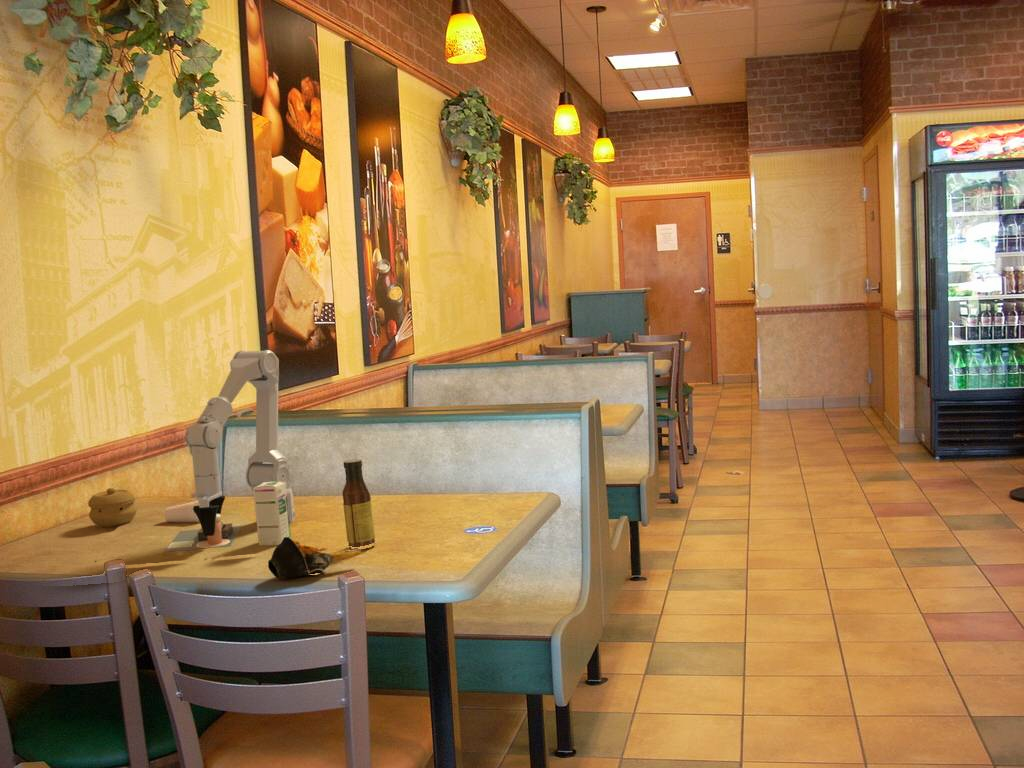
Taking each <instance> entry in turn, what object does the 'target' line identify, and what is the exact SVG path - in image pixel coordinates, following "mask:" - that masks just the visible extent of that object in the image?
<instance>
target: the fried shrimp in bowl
mask: <svg viewBox="0 0 1024 768" xmlns="http://www.w3.org/2000/svg"><path fill="white" fill-rule="evenodd" d="M326 550H328V548H326V547H323V548H317V547H313V546H309V545H306V544H304V545H302V544H301V542H300V541H299V540H293V539H292V538H291V539H290V538H288V537H285V538H284V539H283V541H282V542H281V543H280V544H279V545H276V547H274V550H273V552H272V556H271V557H270V559H269V560H268V562H267V564H268V566H267V567H268V569H269V571H270V572H271V574H272V575H273V576H274V577H275V578H276V579H280V578H286V579H287V578H288V579H293V578H294V577H295V578H298V577H301V576H303V575H305V576H309V575H310V574H315V573H321V574H323V572H324V570H326V569H327V568H328V567H329V565H330V564H331V563H332V562H333V561H334V560H344V559H345V560H346V559H348V558H354V557H357V556H360V555H361V554H362V550H361V549H358V548H354V549H345V550H340V551H335V552H334V551H333V552H330V553H326V552H322V551H326Z"/></svg>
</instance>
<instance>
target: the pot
mask: <svg viewBox="0 0 1024 768" xmlns="http://www.w3.org/2000/svg"><path fill="white" fill-rule="evenodd" d="M136 500H137V499H136V496H135V495H134V493H132V492H131V491H130V490H127V489H115V488H114V487H109V488H107V489H106V490H105V491H100V492H97V493H95V494H93V495H92V496H91V497H90V498H89V500H88V502H87V504H88V507H89V508H90V512H89V513H88V517H89V518H90V520H91V521H92V523H93V524H94V525H95V526H97V527H99V528H115V527H116V528H117V527H120V526H121V525H125V524H129V523H131V522H132V521H133V520H134V518H135V516H136V514H137V509H138V507H137V506H136V505H135V504H134V502H136Z"/></svg>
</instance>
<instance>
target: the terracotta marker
mask: <svg viewBox="0 0 1024 768" xmlns="http://www.w3.org/2000/svg"><path fill="white" fill-rule="evenodd" d="M221 521H222V515H221V514H216V520H215V533H214V535H213V536H207V537H208V544H211V545H213V544H220V543H222V532H221Z"/></svg>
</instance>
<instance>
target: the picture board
mask: <svg viewBox="0 0 1024 768" xmlns="http://www.w3.org/2000/svg"><path fill="white" fill-rule="evenodd" d="M232 527H233V532H232V534H231V535H230V537H229V538H227V539H222V543H220V544H213V545H211V544H208V540H203V541H198V532H199V530H200V529H201V528H199V529H189V530H187V529H186V530H179V532H178V533H177V534H176V536H175V537H174V538H173V539H172V540H171V542H170V543H169V544H168V545H167V546H166V548H165V549H164V550H163V553H168V552H177V551H179V552H180V551H190V550H203V549H216V548H226V547H231V546H232V544H233V542H234V541H235V539H236V537H237V535H238V534H239V532H240V530H241V529H242V527H243V525H236V526H232Z"/></svg>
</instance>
